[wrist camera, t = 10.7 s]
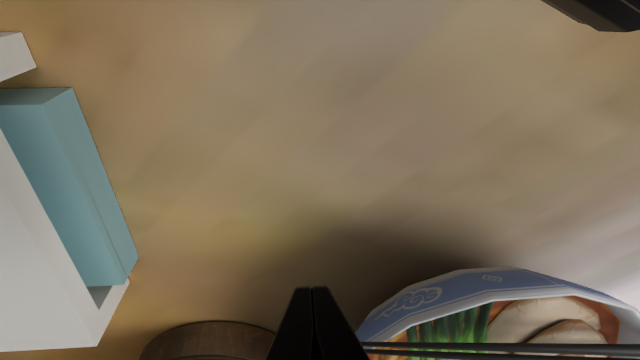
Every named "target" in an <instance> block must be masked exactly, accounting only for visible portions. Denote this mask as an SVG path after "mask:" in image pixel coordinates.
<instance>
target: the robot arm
mask: <svg viewBox="0 0 640 360" xmlns="http://www.w3.org/2000/svg"><path fill="white" fill-rule="evenodd" d="M541 1H543V2H545V3H546V4H548V5H550V6H552V7H553V8H555V9H557V10H558V11H560V12H562V13H563V14H565V15H567V16H568V17H570V18H572V19H573V20H575V21H577V22H578V23H582V24H586V25H589V26H591V27H592V28H594V29H596V30H598V31H607V32H631V31H636V30H640V0H541ZM265 360H370V358H369V356H368V355H367V353H366V351H365V349H364V348H363V346H362V344H361V343H360V341H359V339H358V337H357V336H356V334H355V332H354V331H353V329H352V327H351V325H350V324H349V322H348V320H347V319H346V317H345V315H344V313H343V312H342V310H341V308H340V307H339V305H338V303H337V301H336V300H335V298H334V296H333V295H332V293H331V291H330V289H329V288H328V287H327V286H326V285H322V286H313V287H312V289H311V287H310V286H301V287H296V288H295V290H294V292H293V294H292V297H291V299H290V302H289V304H288V306H287V309H286V311H285V313H284V316H283V318H282V320H281V323H280V325H279V327H278V330H277V332H276V335H275V337H274V339H273V342H272V344H271V346H270V349H269V351H268V353H267V356H266V358H265Z"/></svg>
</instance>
